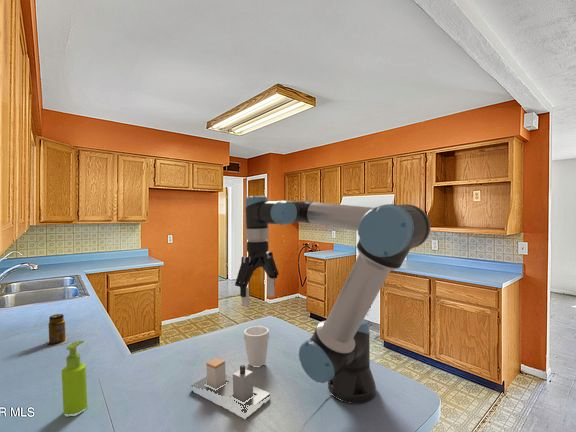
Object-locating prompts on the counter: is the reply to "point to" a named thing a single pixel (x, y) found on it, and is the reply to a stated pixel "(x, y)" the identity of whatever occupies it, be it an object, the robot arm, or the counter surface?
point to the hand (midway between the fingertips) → (258, 300)
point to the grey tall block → (243, 384)
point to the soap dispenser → (74, 382)
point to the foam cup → (256, 344)
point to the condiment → (56, 330)
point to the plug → (216, 373)
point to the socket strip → (228, 391)
